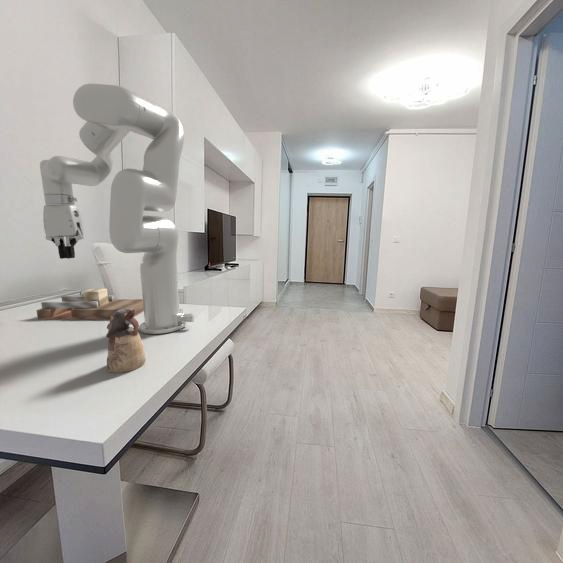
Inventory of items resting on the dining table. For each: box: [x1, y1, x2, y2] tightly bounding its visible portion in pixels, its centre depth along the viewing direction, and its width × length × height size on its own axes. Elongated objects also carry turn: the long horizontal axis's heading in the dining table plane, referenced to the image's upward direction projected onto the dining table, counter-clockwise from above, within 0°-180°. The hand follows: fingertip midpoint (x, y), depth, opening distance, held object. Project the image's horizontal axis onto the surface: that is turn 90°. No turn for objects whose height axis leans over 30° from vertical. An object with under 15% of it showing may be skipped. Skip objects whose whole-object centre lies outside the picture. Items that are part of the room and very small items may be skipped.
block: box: [82, 288, 109, 306], centre depth 98 cm, size 5×5×5 cm
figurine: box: [105, 309, 147, 374], centre depth 59 cm, size 7×7×12 cm
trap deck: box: [36, 295, 144, 320], centre depth 98 cm, size 30×14×5 cm, turn 91°
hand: (67, 257), depth 95 cm, fingers closed
